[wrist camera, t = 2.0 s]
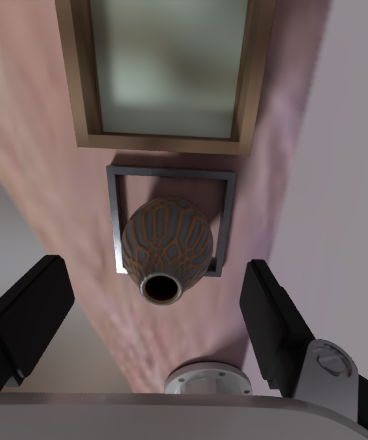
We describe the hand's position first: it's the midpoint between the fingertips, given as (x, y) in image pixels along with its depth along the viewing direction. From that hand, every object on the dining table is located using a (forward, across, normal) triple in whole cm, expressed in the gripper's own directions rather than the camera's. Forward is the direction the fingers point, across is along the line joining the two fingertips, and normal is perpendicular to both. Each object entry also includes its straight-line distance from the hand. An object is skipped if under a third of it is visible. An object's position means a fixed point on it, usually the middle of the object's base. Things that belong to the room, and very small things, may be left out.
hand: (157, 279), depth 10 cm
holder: (+9, 0, -11) cm, 15 cm away
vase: (+9, 0, +1) cm, 9 cm away
